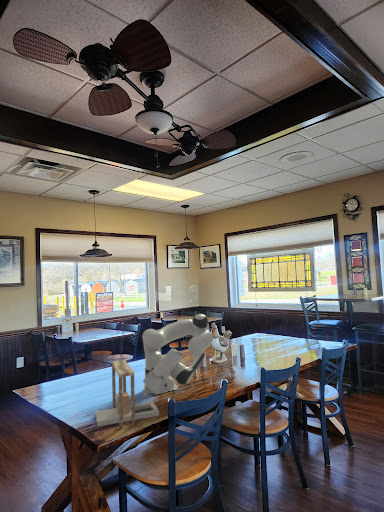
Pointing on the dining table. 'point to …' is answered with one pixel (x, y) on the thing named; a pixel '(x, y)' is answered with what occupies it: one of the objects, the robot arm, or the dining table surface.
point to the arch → (123, 388)
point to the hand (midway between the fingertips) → (143, 395)
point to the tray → (140, 412)
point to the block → (124, 403)
